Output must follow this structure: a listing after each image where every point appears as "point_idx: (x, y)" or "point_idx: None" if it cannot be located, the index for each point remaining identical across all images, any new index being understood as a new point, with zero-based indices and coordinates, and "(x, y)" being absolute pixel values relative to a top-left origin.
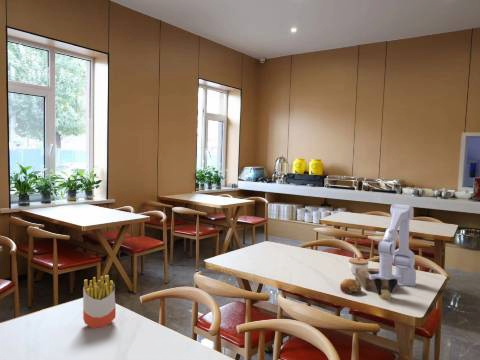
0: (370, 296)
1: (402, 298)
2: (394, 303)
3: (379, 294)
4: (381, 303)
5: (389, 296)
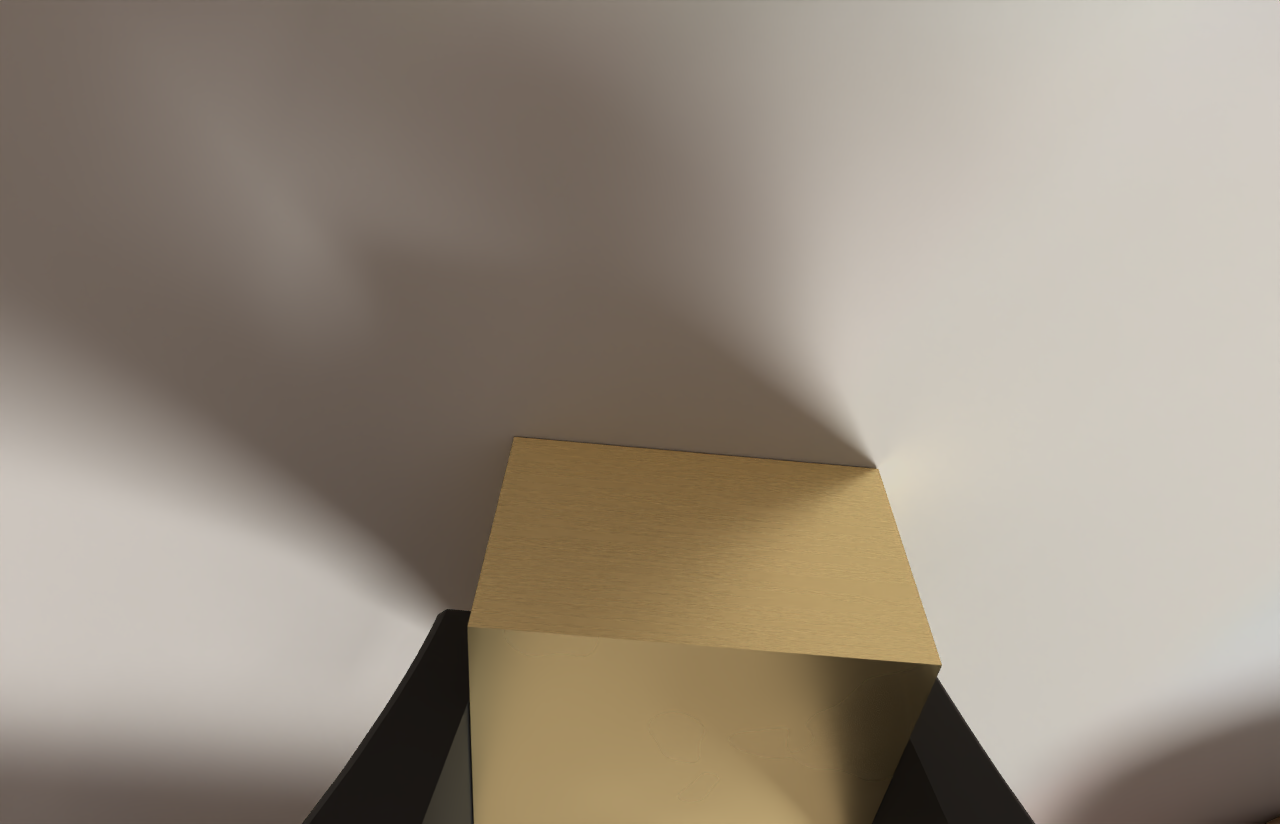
0: (1092, 665)
1: (44, 501)
2: (557, 20)
3: None
4: (1231, 41)
5: (566, 522)
